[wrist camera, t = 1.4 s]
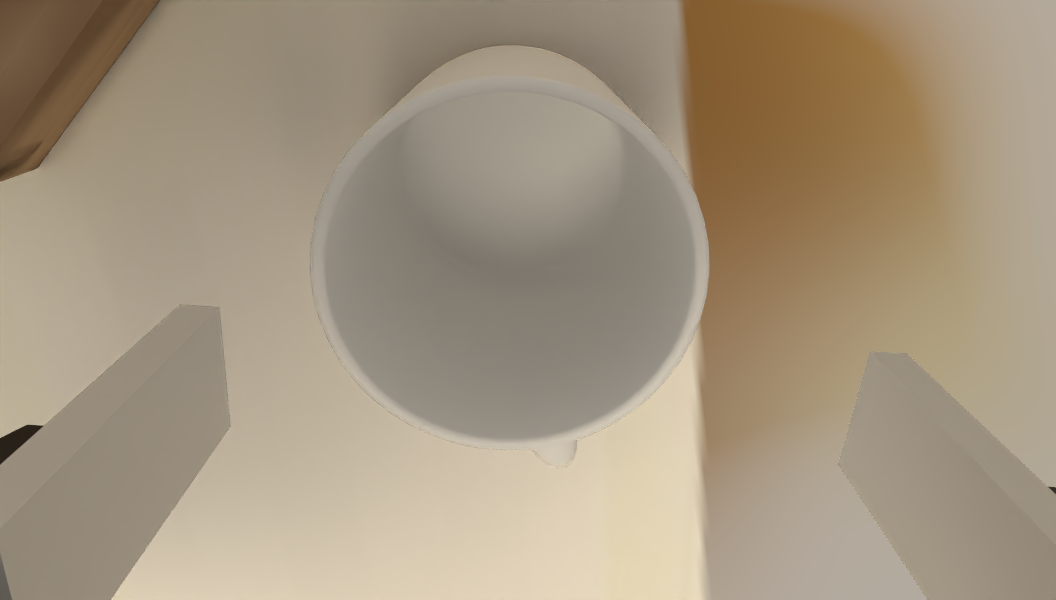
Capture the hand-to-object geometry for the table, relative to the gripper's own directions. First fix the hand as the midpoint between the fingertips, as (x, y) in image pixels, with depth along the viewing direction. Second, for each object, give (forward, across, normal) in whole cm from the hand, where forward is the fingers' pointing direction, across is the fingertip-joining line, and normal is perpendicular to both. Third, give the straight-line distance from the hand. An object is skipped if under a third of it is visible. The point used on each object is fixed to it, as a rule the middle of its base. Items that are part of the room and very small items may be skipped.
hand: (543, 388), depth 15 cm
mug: (+12, 0, 0) cm, 13 cm away
